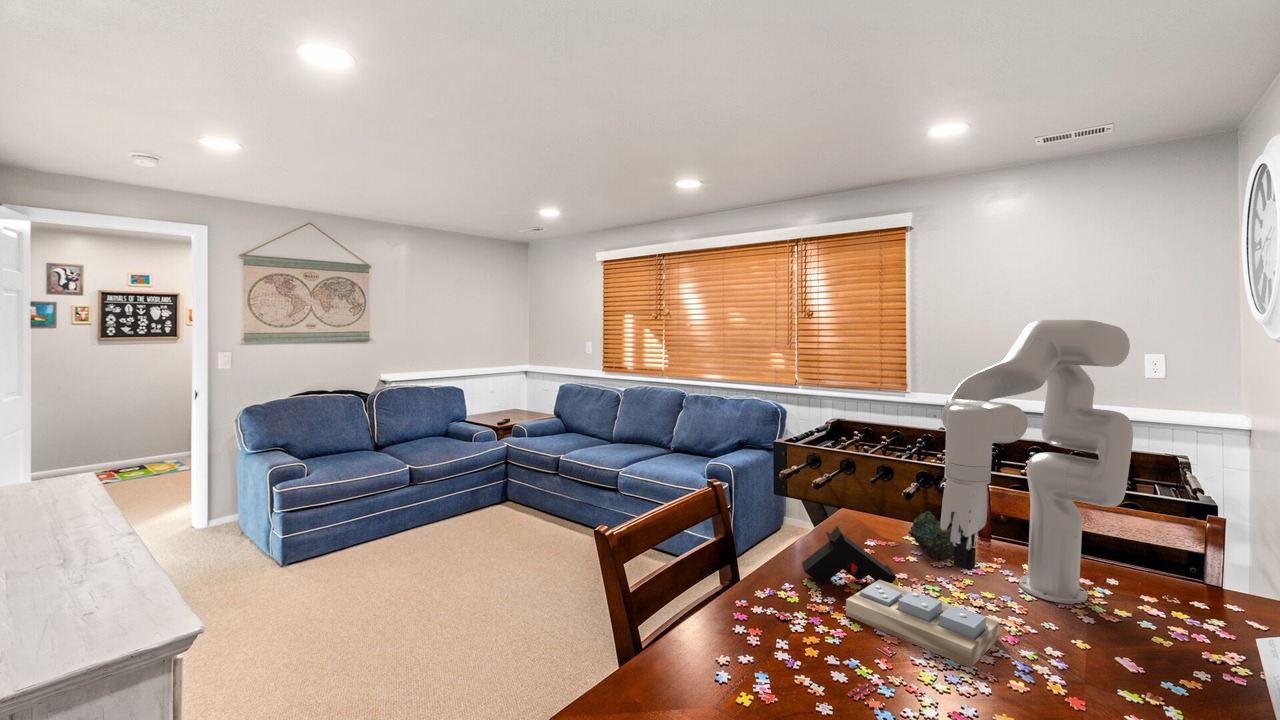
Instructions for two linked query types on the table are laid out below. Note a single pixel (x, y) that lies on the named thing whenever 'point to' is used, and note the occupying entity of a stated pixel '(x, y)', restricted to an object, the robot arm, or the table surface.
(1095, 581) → the table surface
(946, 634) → the board
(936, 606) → the tile two
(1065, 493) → the robot arm
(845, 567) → the toy gun
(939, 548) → the rock
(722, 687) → the table surface
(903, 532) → the table surface
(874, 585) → the tile three
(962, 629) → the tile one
